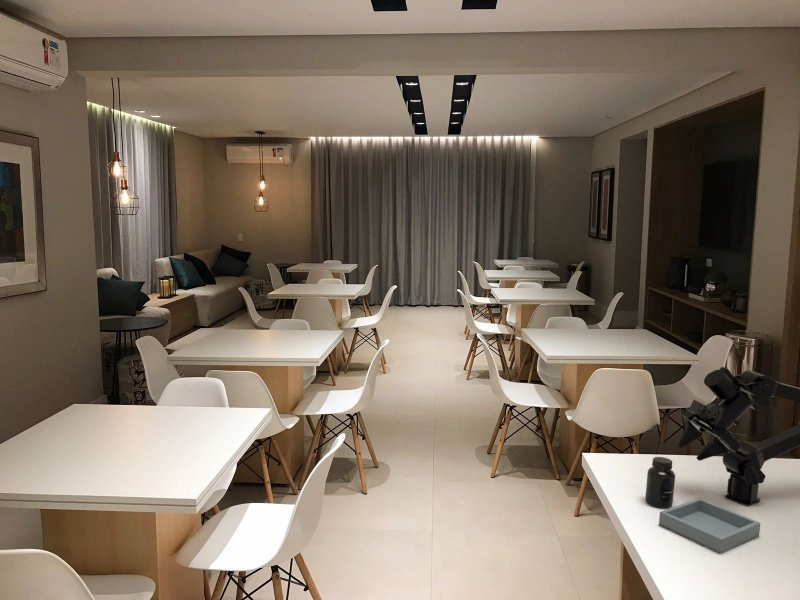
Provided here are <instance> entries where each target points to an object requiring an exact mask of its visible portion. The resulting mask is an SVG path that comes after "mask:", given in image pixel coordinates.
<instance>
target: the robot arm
mask: <svg viewBox="0 0 800 600" xmlns="http://www.w3.org/2000/svg"><path fill="white" fill-rule="evenodd" d="M703 384H704V385H705V386H706V388H708V389H709V391H711V392H712V394H713V395H714V396H715V397H716V398H717V399H719V400H722V401H721V402H719V403H718V404H717V403H708V404H705V403H703V402H700V401H699V400H697V399H693V400H692V402H691V404H690V406H689V408H688V409H687V410H686V411H685V412H684V413H683V414H682V416H683V421H684V425H685V426H684V430H683V432H682V434H681V436H680V439H679V441H678V443H677V447H679V449H682V448H684V447H686V446H687V445H689V444H691V443H692V442H694V441H695V440H697V439H698V438H700V437H702V436H703V433H704V432H709V441H708V442H707V444H706V445H705V446H704V447H703V448H702V449H701V450H700V452H699V453H698V454H697V456H696V460H698V461H699V462H701V461H704V460H706V459H709V458H712V457H715V456H718V455H722V454H723V455H722V463H723V465H724V467H725V469H726V470H725V471H726V472H727V473H728V474H729V473H730V474H729V475H730V476H729V478H728V479H727V488H726V493H727V494H725V495H724V498H726V499H729V500H732V501H734V502H736V503H739V504H742V505H743V506H749V507H750V506H751V505H753V504H755V503H758V502H761V498H760V497H758V495H759V494H758V492H759V484H763V483H764V481H765V478H766V477H767V476H766V474H765V473H764V472H763V471H762V468H763V466H764V465H765V463H766V462H767V461H769V460H771V459H774V458H775V457H777V456H780V455H782V454H785V453H786V452H789V451H791V450H793V449H795V448H797V447H800V421H799V422H798V424H797V425H795V426H792V427H790V428H788V429H786V430H784V431H781V432H779V433H777V434H775V435H773V436H771V437H768V438H766V439H764V440H761V441H759V442H757V443H754V444H750V443H748V442H746V441H744V440H741V441H740V440H739V439H738V438H737V437H736V436H735V435H734V434H733V433H732V432H731V431H730V430H729V429H730V428H731V427H732V426H733V425H734V426H738V425H739V424H740V422H739V421H738V419H740V418H741V417H742V415H743V414H744V413H745V412H747V410H748V409H750V408H751V409H752V410H755V411H758V410H759V405H758V399H756V398H755V397H753V396H756V397H759V398H773V397H777V398H781V399H785V400H789V401H793V402H797V403H800V387H797V386H793V385H791V384H790V385H789V384H786V383H784V382H783V383H782V382H779V381H777V380H775V379H773V378H771V377H769V376H767V375H765V374H762V373H759V372H756V371H753V370H749V369H748V370H745V371H744V372H742V373H740V374H736V375H733V374H732V372H731V370H729V368H727V367H725V366H720V368H719V369H715V370H713V371H711V372H709V373H707V374H706V376H705V377H704V380H703ZM748 393H749V394H751V395H753V396H752V397H751V396H750V395H749V394H748Z"/></svg>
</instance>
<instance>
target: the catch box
mask: <svg viewBox="0 0 800 600" xmlns="http://www.w3.org/2000/svg"><path fill="white" fill-rule="evenodd" d="M658 526H659V527H661V528H663V529H665V530H667V531H669V532H672V533H674V534H677V535H679V536H680V537H682V538H685V539H688V540H689V541H691V542H694V543H696V544H697V545H700V546H702V547H704V548H706V549H709V550H711V551H713V552H715V553H716V554H719V555H722V554H723V553H726V552H728V551H731V550H732V549H735V548H737V547H739V546H741V545H744V544H745V543H748V542H751V541H752V540H755V539H757V538H759V537H760V532H761V522H759V521H758V520H754V519H752V518H750V517H748V516H745V515H741V514H740V513H738V512H735V511H733V510H730V509H727V508H725V507H723V506H721V505H717V504H715V503H713V502H710V501H708V500H705V499H703V498H700V497H698V498H694V499H693V500H690V501H687V502H683V503H681V504H678V505H675V506H671V507H669V508H666V509H665V510H661V511H659V520H658Z"/></svg>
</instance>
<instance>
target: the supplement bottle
mask: <svg viewBox="0 0 800 600" xmlns="http://www.w3.org/2000/svg"><path fill="white" fill-rule="evenodd" d="M672 469H673V460H672V459H670V458H668V457H663V456H654V457H653V458H652V463H651V467H650V468H648V469H647V474H646V483H645V496H644V497H645V498H644V499H645V500H644V501H645V502H646V503H647V504H648V505H649V506H652V507H654V508H658V509H670V508H672V507H673V503H674V493H675V483H676V473H675V472H674V471H673V470H672Z"/></svg>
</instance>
